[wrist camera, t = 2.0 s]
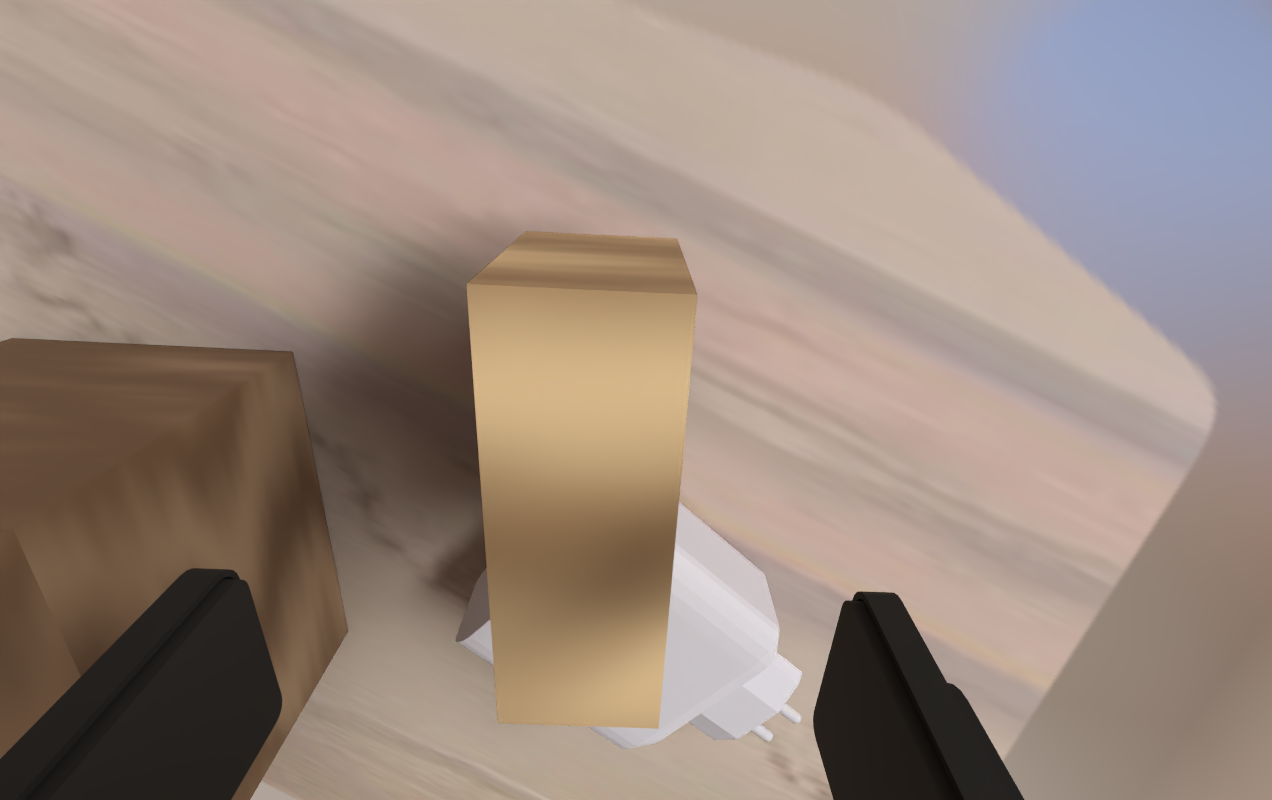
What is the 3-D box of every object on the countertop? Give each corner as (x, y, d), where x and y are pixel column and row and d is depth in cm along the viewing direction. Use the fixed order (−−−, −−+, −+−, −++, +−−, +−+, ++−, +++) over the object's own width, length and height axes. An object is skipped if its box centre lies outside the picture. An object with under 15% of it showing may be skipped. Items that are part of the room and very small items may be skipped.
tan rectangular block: (650, 488, 25) (658, 728, 15) (554, 484, 25) (497, 723, 15) (668, 214, 20) (697, 294, 10) (551, 209, 20) (466, 284, 10)
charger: (705, 728, 31) (479, 569, 27) (847, 634, 28) (619, 441, 24) (716, 824, 27) (448, 653, 23) (884, 725, 24) (614, 508, 20)
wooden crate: (347, 631, 28) (73, 1103, 14) (124, 622, 28) (-367, 1092, 14) (293, 351, 22) (-248, 695, 9) (11, 338, 22) (-990, 668, 9)
